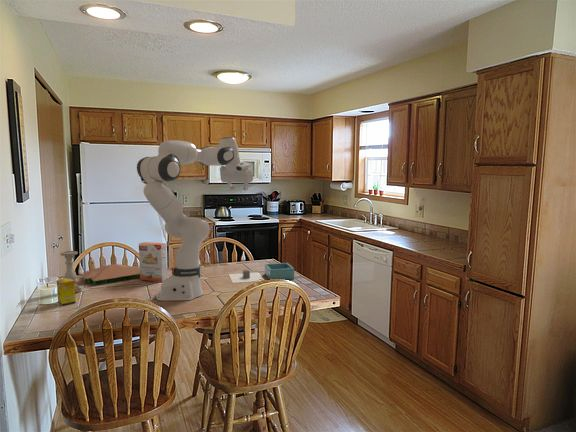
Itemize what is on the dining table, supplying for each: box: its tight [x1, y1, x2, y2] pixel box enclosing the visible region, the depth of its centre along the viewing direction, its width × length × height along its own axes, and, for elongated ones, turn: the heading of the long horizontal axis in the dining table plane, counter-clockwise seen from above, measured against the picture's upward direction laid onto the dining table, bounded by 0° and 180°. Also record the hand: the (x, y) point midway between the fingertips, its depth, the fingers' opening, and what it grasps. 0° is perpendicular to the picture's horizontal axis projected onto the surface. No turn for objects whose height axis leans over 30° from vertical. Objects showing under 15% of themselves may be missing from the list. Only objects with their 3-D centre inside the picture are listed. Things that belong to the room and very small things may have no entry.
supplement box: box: [56, 278, 76, 307], centre depth 190 cm, size 6×6×11 cm
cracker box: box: [138, 241, 168, 283], centre depth 229 cm, size 14×6×21 cm, turn 76°
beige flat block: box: [80, 263, 140, 286], centre depth 234 cm, size 23×33×8 cm
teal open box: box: [264, 262, 295, 280], centre depth 239 cm, size 14×14×6 cm
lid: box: [228, 269, 265, 284], centre depth 236 cm, size 18×18×5 cm
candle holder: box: [60, 250, 82, 294], centre depth 206 cm, size 9×9×20 cm
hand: (239, 189), depth 229 cm, fingers open, 8 cm apart
